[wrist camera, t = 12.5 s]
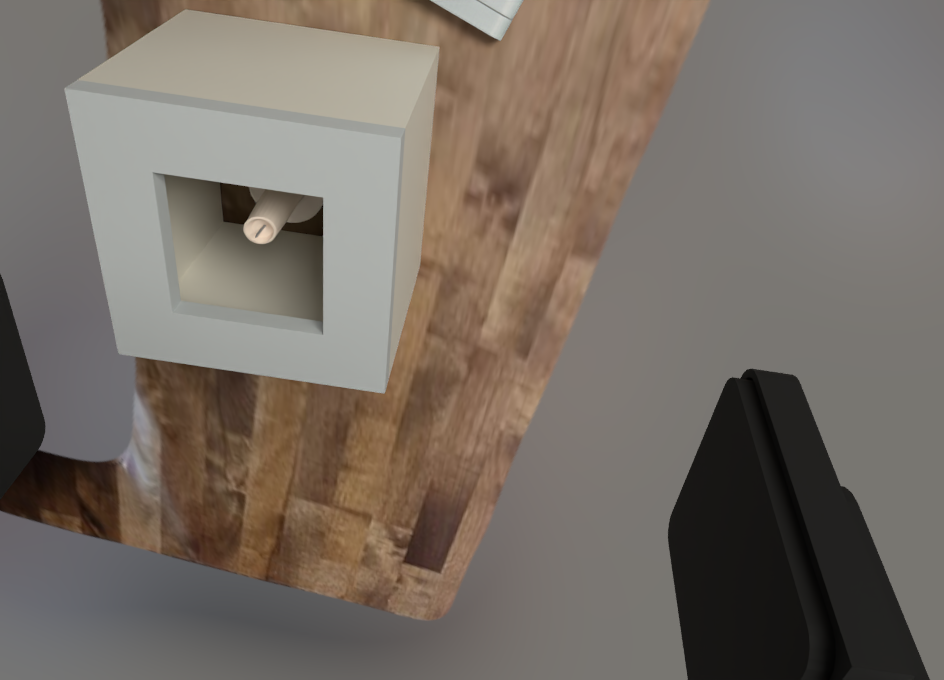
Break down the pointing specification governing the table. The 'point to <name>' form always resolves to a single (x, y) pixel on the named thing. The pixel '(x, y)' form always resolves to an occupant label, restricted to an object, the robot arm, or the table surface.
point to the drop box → (261, 166)
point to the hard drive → (484, 13)
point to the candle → (277, 212)
